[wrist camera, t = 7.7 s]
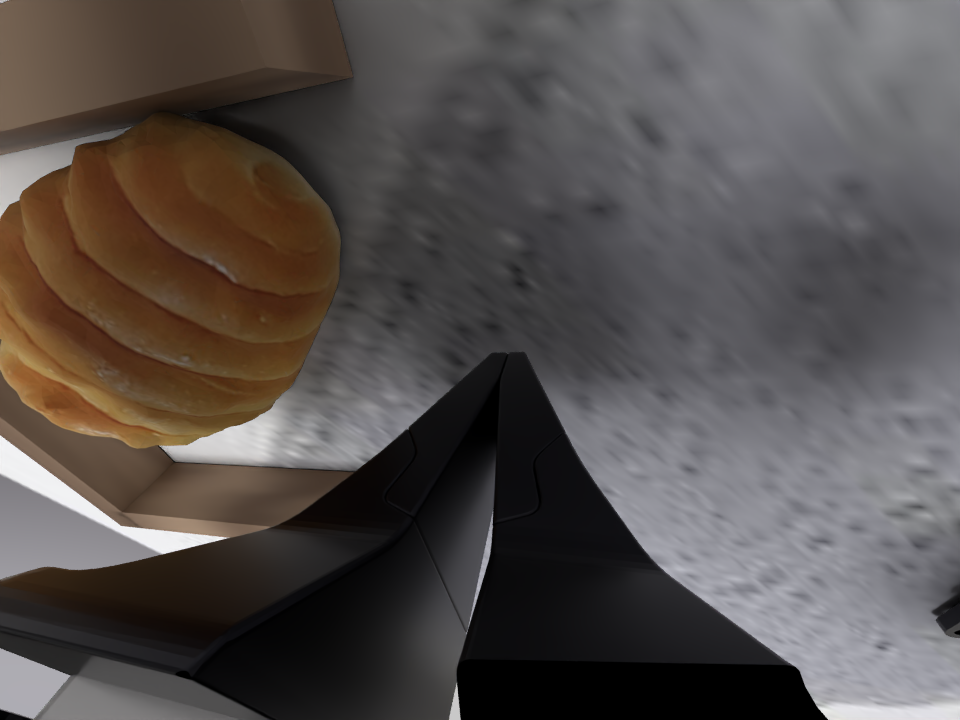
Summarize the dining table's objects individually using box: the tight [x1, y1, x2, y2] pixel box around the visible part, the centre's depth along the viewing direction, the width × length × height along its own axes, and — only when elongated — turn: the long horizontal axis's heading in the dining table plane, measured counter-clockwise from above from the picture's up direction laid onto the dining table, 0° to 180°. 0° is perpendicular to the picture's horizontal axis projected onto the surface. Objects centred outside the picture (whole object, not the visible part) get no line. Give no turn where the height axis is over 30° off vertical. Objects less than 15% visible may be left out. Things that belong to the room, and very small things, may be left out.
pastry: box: [0, 111, 341, 449], centre depth 9 cm, size 9×7×4 cm
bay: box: [0, 0, 354, 538], centre depth 11 cm, size 15×14×2 cm
